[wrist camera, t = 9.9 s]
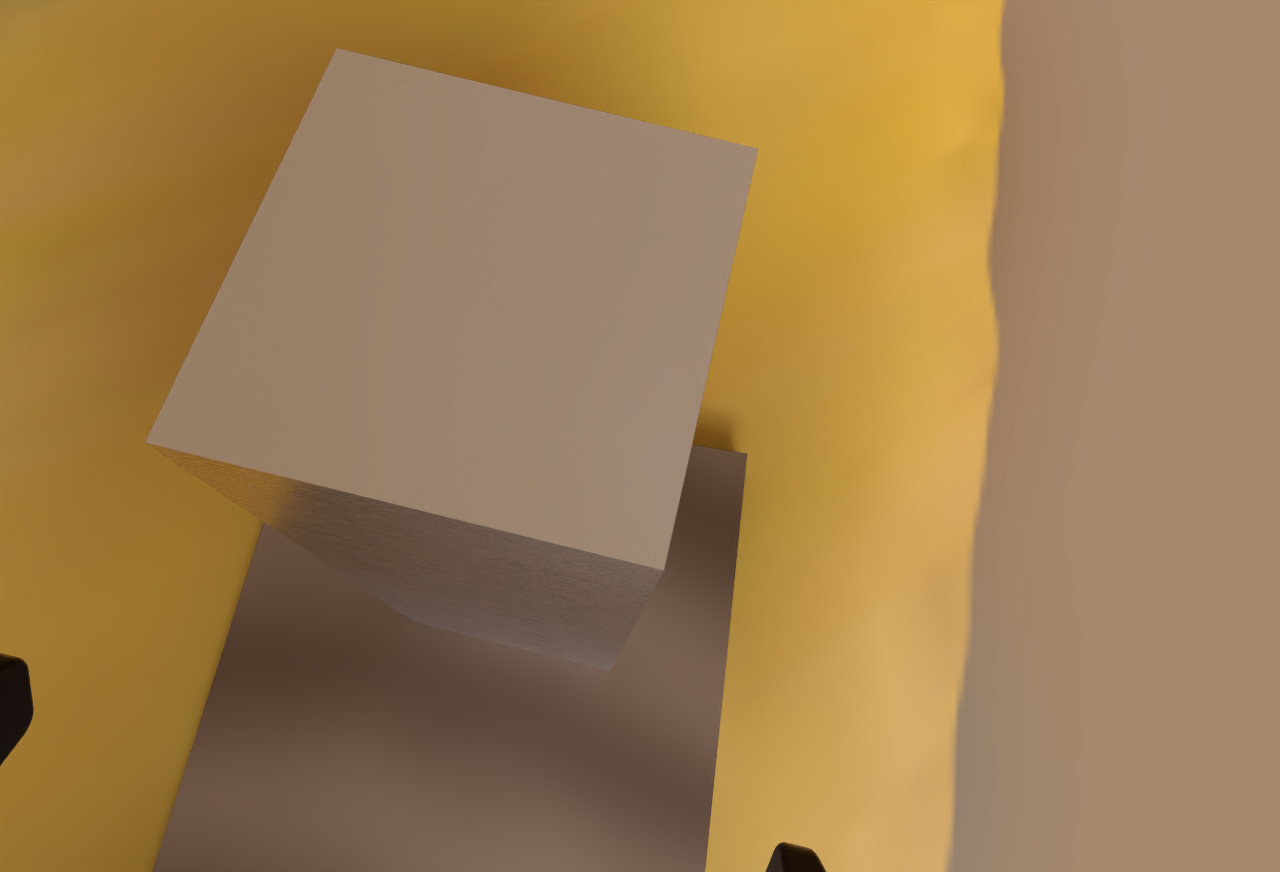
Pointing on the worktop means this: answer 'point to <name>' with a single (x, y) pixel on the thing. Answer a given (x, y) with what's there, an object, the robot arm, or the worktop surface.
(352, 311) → the aluminium block
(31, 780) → the worktop surface
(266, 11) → the worktop surface
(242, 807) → the plate
